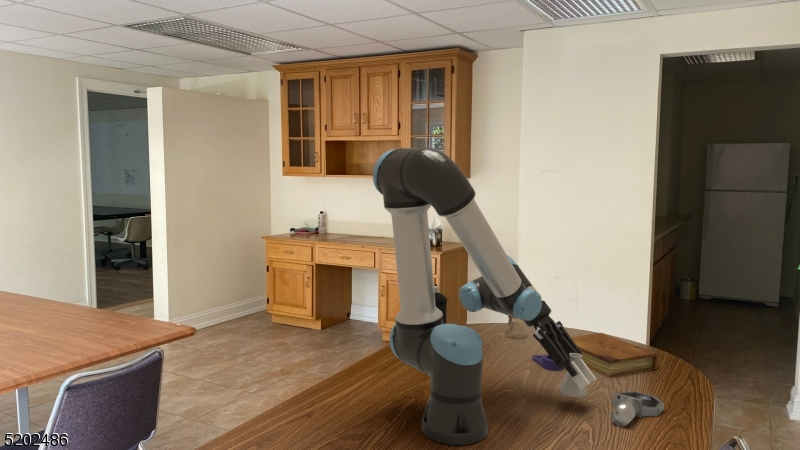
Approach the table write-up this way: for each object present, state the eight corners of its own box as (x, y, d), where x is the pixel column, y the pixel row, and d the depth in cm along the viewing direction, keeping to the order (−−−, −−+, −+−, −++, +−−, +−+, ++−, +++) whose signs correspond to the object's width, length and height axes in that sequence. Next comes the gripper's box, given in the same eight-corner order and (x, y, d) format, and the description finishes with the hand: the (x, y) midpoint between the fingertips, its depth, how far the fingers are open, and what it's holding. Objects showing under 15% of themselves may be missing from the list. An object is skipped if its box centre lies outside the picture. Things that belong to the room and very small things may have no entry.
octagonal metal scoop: (644, 433, 132) (646, 414, 132) (595, 419, 139) (596, 401, 139) (667, 405, 148) (668, 388, 148) (621, 394, 155) (622, 378, 155)
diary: (657, 371, 175) (658, 353, 175) (609, 379, 168) (610, 360, 167) (602, 348, 196) (603, 331, 196) (558, 354, 189) (559, 337, 188)
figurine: (514, 332, 212) (515, 300, 211) (530, 336, 207) (531, 304, 206) (502, 335, 208) (503, 303, 207) (517, 340, 202) (519, 306, 201)
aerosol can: (450, 343, 198) (452, 286, 196) (439, 349, 191) (440, 290, 189) (429, 339, 202) (430, 283, 200) (418, 345, 195) (419, 287, 193)
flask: (583, 390, 150) (586, 352, 149) (590, 399, 143) (594, 359, 142) (555, 387, 150) (558, 349, 150) (561, 397, 143) (564, 357, 143)
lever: (567, 370, 174) (568, 359, 174) (550, 372, 172) (550, 362, 171) (543, 357, 185) (543, 348, 185) (526, 360, 183) (527, 350, 182)
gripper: (535, 310, 161) (589, 383, 152) (506, 320, 148) (564, 401, 139) (554, 294, 157) (611, 368, 149) (527, 303, 144) (587, 385, 135)
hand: (588, 384), depth 144 cm, fingers closed on flask, 4 cm apart
